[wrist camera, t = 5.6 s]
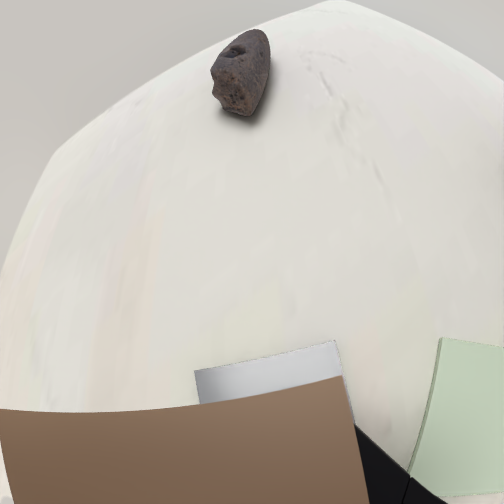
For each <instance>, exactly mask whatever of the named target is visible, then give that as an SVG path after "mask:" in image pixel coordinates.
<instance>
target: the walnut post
mask: <svg viewBox="0 0 504 504" xmlns="http://www.w3.org/2000/svg"><path fill="white" fill-rule="evenodd" d="M0 441H1V448H2V453H3V459H4V464H5V468H6V473H7V477H8V482H9V486H10V490H11V493H12V497H13V501H14V504H369V498H368V493H367V487H366V482H365V477H364V472H363V467H362V461H361V457H360V452H359V447H358V442H357V437H356V433H355V428H354V424H353V419H352V415H351V410H350V406H349V402H348V397H347V393H346V389H345V385H344V381H343V377H342V375H339V376H335V377H332V378H328V379H324V380H320V381H317V382H313V383H309V384H305V385H300V386H296V387H292V388H288V389H283V390H279V391H274V392H269V393H264V394H259V395H254V396H249V397H243V398H238V399H232V400H226V401H219V402H213V403H206V404H198V405H191V406H182V407H173V408H164V409H153V410H140V411H123V412H97V413H60V412H34V411H19V410H7V409H0Z"/></svg>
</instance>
